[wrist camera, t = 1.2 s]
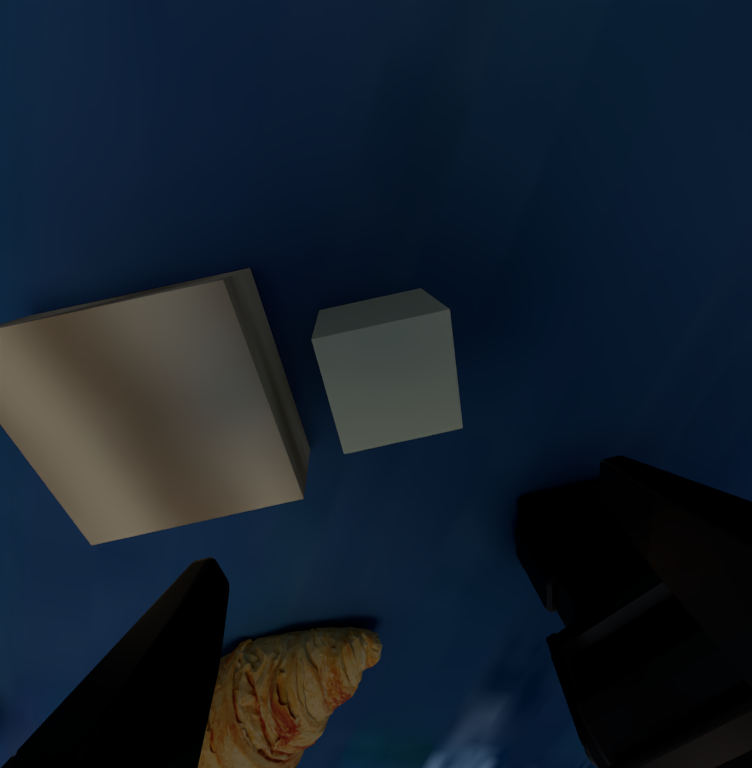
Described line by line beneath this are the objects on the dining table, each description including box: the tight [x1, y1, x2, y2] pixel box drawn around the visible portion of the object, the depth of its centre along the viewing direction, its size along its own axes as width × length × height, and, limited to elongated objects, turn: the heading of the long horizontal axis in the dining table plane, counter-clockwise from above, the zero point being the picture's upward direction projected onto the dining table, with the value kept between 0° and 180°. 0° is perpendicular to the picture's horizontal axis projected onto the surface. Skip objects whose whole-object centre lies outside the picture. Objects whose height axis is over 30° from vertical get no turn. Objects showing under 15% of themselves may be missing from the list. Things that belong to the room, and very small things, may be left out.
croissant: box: [198, 627, 382, 768], centre depth 26 cm, size 21×10×8 cm, turn 123°
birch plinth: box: [0, 268, 310, 545], centre depth 16 cm, size 10×10×4 cm
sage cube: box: [311, 288, 463, 454], centre depth 16 cm, size 5×5×5 cm
